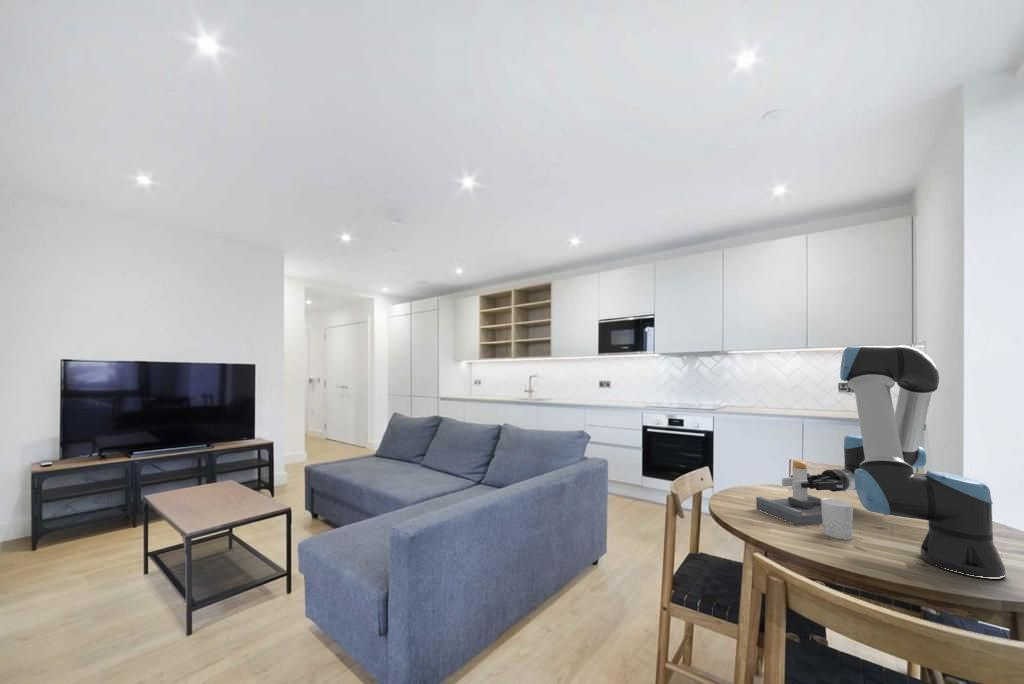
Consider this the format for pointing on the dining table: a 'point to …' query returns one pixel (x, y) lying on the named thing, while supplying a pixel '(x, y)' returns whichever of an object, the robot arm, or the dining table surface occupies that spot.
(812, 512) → the base
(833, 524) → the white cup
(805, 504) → the breaker handle
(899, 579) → the dining table surface
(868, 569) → the dining table surface
